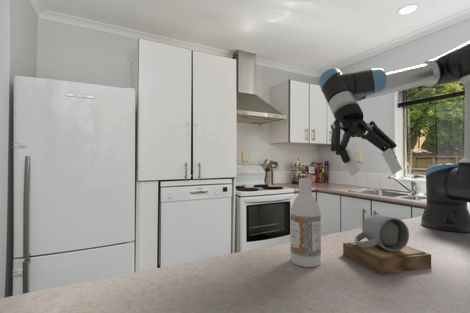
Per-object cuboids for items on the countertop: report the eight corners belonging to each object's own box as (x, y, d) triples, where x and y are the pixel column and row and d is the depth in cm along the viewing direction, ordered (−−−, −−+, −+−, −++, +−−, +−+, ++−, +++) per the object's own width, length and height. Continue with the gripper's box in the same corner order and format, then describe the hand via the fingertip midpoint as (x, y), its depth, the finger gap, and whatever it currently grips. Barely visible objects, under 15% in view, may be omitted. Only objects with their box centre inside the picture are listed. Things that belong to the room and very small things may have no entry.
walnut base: (387, 250, 69) (387, 237, 70) (431, 267, 58) (431, 253, 58) (343, 254, 66) (343, 241, 66) (380, 274, 54) (380, 258, 54)
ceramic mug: (386, 240, 67) (385, 211, 67) (410, 251, 59) (409, 217, 59) (347, 242, 66) (347, 212, 66) (367, 253, 58) (366, 219, 58)
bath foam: (285, 258, 63) (285, 177, 64) (308, 255, 65) (308, 177, 66) (301, 270, 57) (301, 179, 57) (327, 265, 59) (326, 179, 59)
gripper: (371, 119, 84) (403, 177, 73) (303, 117, 77) (328, 180, 66) (387, 103, 78) (425, 163, 67) (315, 99, 71) (344, 166, 60)
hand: (376, 172), depth 66 cm, fingers open, 13 cm apart
